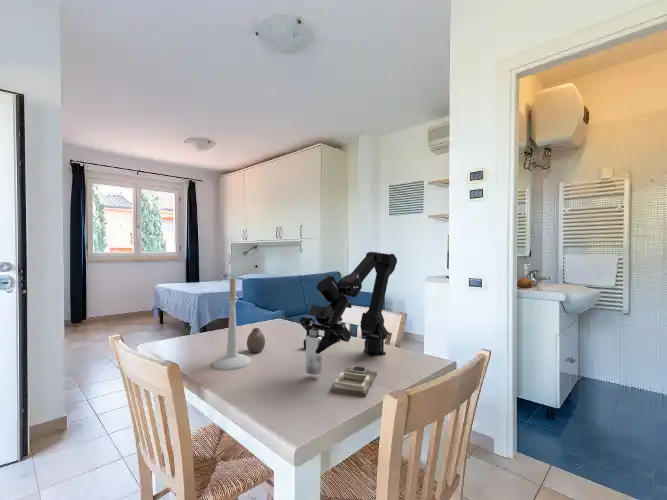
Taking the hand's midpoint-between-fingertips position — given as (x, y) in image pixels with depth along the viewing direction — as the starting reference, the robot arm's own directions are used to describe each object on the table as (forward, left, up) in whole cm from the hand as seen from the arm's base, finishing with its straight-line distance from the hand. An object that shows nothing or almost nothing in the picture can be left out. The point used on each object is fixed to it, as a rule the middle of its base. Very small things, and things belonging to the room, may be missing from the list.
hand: (310, 351), depth 105 cm
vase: (+11, -33, -9) cm, 35 cm away
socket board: (-12, +8, -8) cm, 16 cm away
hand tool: (-17, -32, -9) cm, 37 cm away
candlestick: (+21, -23, -9) cm, 32 cm away
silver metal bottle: (-1, -1, -7) cm, 7 cm away
